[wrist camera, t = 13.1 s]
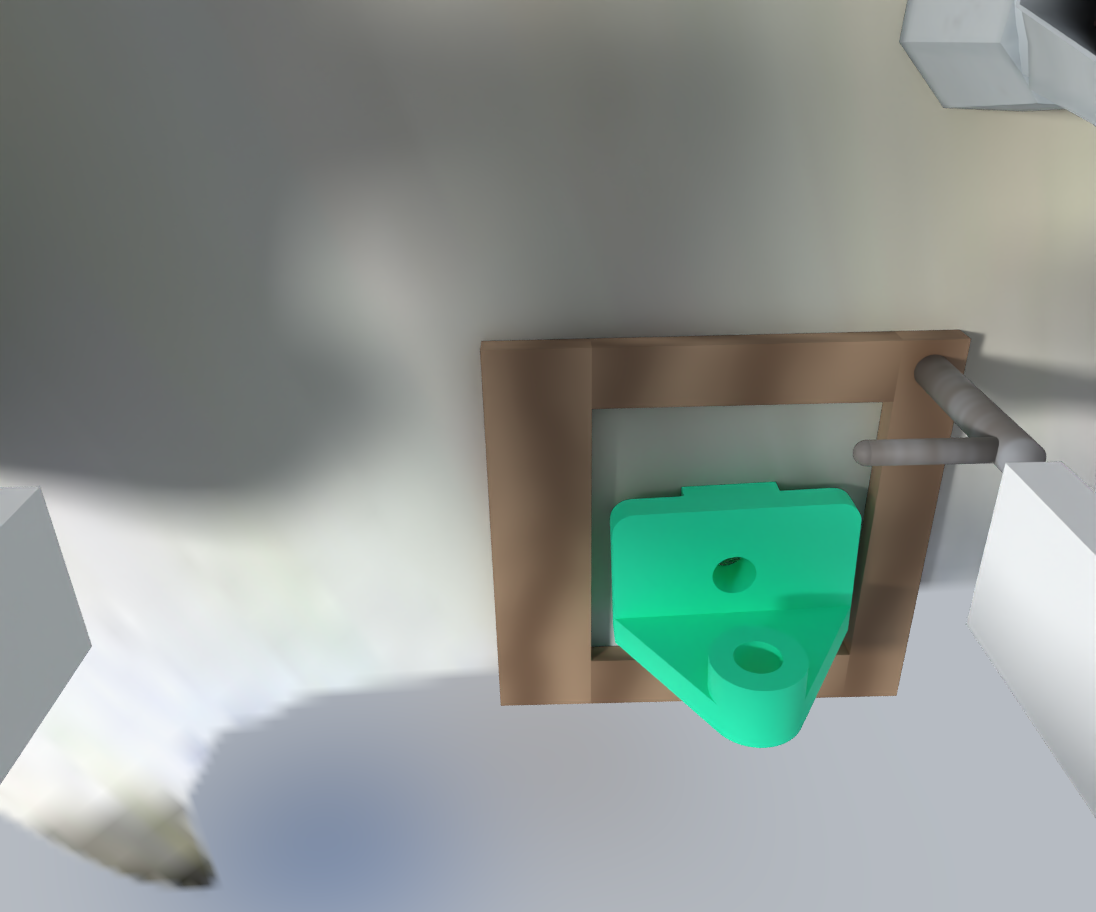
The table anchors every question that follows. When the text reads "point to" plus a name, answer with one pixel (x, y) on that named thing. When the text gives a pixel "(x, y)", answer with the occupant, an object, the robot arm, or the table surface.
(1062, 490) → the robot arm
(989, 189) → the table surface
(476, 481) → the table surface
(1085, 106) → the coffee maker
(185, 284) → the table surface
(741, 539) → the camera mount
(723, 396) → the open wooden square frame
